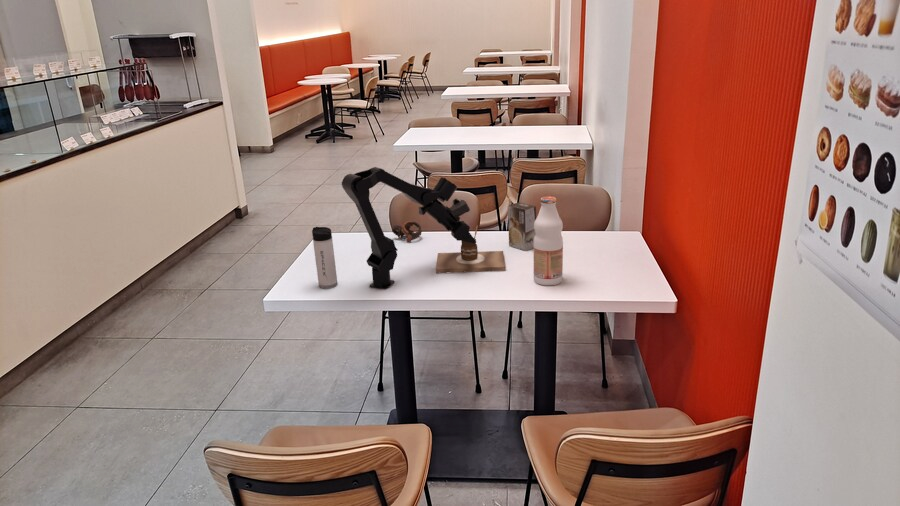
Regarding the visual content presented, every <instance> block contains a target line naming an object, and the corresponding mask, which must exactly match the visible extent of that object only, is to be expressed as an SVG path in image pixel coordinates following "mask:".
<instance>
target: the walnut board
mask: <svg viewBox="0 0 900 506" xmlns="http://www.w3.org/2000/svg"><path fill="white" fill-rule="evenodd" d="M435 264H436V266H435V273H436V274H447V272H451V273H454V274H455V273H479V272H481V273H483V272H484V273H485V272H505V271H506V262H505V255H504V250H493V251H492V250H491V251H490V250H489V251H488V250H487V251H478V257H477V259H476V260H473V261H465V260H463V259H462V258H461V251H459V252H457V251H455V252H438V253H437V259H436V263H435ZM451 273H450V274H451Z"/></svg>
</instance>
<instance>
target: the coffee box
mask: <svg viewBox="0 0 900 506" xmlns="http://www.w3.org/2000/svg"><path fill="white" fill-rule="evenodd" d="M507 216H508V219H507V220H508V221H507V222H508V223H507V226H508V247H511V248H515V249H519V250H522V251H525V252H526V251H530V250H532V249H534V246H533V244H534V237H535V229H534V222H535V220H536V218H537V206H536V205H532V204H527V203H524V202H523V203H522V202H519V201H518V202H515V203H512V204H510V205H507Z"/></svg>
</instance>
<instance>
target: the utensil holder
mask: <svg viewBox="0 0 900 506" xmlns="http://www.w3.org/2000/svg"><path fill="white" fill-rule="evenodd" d="M478 227H479V226H478V225H476V227H475V232H474V235H473V238H474V239H475V240H476V241H477V239H476V237H477V236H476V235H477V234H478V233H477V232H478ZM460 252H461V258H462V259H463V260H465V261H473V260H476V259H477V257H478V252H479V251H478V245H477V242H476V243H475V244H473V243H469V242H465V241H461V245H460Z"/></svg>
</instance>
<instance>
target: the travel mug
mask: <svg viewBox="0 0 900 506" xmlns="http://www.w3.org/2000/svg"><path fill="white" fill-rule="evenodd" d="M311 233H312V235H311V236H312V241H313V242H312V243H313V244H312V245H313V251H314V256H315V257H314V258H315V260H314V261H315V265H316V275H317V282H318V287H319V288H321V289H332V288H334V287H337V285H338V275H337V266H336V259H335V257H336V256H335V248H334V242H333V240H334V239H333V235H332V229H331V228H329V227H326V226H314V227H313V228H312V230H311Z"/></svg>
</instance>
